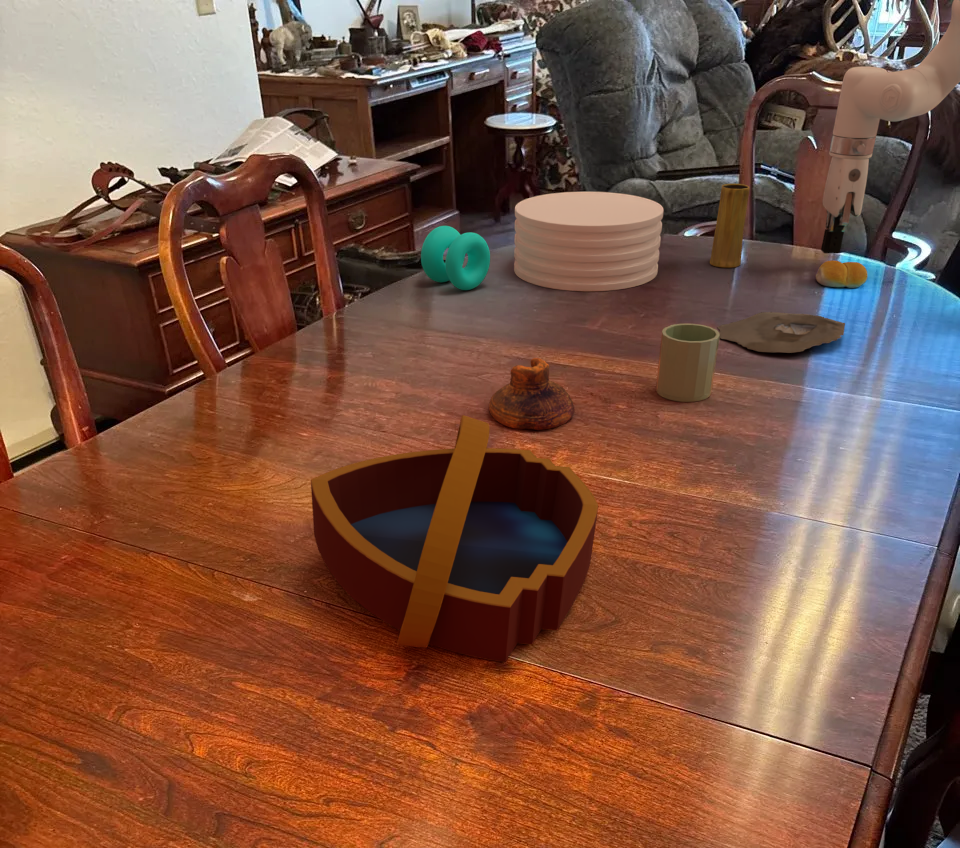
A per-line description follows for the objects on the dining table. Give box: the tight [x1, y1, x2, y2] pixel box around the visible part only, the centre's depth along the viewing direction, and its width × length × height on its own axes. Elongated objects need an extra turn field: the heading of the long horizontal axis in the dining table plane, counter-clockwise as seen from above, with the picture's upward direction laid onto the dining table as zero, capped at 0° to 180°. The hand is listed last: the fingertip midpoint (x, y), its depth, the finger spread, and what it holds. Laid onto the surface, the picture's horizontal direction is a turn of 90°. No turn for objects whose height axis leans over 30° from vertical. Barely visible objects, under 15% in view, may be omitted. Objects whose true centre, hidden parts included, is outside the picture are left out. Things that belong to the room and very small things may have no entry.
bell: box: [488, 357, 575, 431], centre depth 129 cm, size 12×12×7 cm
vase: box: [709, 183, 751, 269], centre depth 185 cm, size 6×6×14 cm
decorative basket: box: [310, 414, 599, 663], centre depth 95 cm, size 34×29×15 cm
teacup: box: [655, 323, 721, 403], centre depth 135 cm, size 8×8×8 cm
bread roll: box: [815, 260, 869, 289], centre depth 178 cm, size 8×9×4 cm
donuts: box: [420, 225, 491, 291], centre depth 177 cm, size 10×10×10 cm
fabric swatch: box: [716, 311, 846, 354], centre depth 155 cm, size 19×22×2 cm
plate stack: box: [513, 191, 664, 292], centre depth 184 cm, size 28×28×12 cm
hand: (830, 251), depth 184 cm, fingers closed
